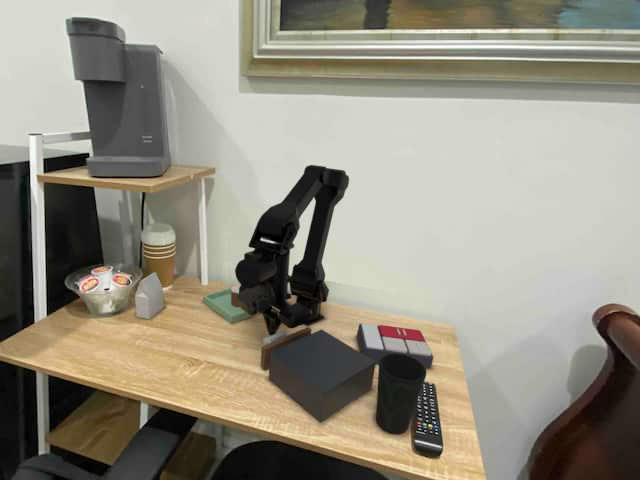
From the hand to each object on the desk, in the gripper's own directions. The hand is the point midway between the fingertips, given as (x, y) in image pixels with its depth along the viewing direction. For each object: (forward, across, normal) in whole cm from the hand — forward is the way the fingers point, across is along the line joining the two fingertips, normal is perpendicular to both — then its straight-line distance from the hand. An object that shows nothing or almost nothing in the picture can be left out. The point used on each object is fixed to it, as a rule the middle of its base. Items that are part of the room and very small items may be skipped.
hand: (271, 335), depth 88 cm
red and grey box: (+4, +17, +22) cm, 28 cm away
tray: (+4, -22, +6) cm, 23 cm away
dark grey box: (+4, +16, 0) cm, 16 cm away
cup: (+4, +30, +3) cm, 31 cm away
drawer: (+3, +9, 0) cm, 10 cm away
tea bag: (+4, -31, -15) cm, 35 cm away
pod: (+3, -21, +6) cm, 22 cm away
